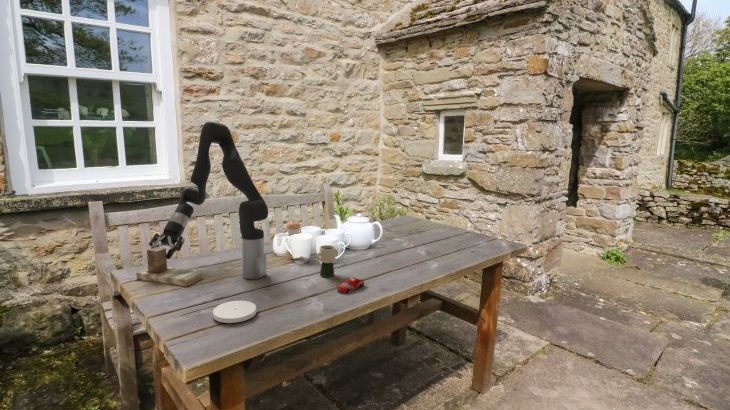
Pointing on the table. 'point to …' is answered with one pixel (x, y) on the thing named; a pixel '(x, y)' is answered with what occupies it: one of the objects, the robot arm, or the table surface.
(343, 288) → the race car
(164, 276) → the puzzle board
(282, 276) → the table surface
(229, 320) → the plastic lid
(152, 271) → the walnut block
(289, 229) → the pepper shaker
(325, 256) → the character mug
